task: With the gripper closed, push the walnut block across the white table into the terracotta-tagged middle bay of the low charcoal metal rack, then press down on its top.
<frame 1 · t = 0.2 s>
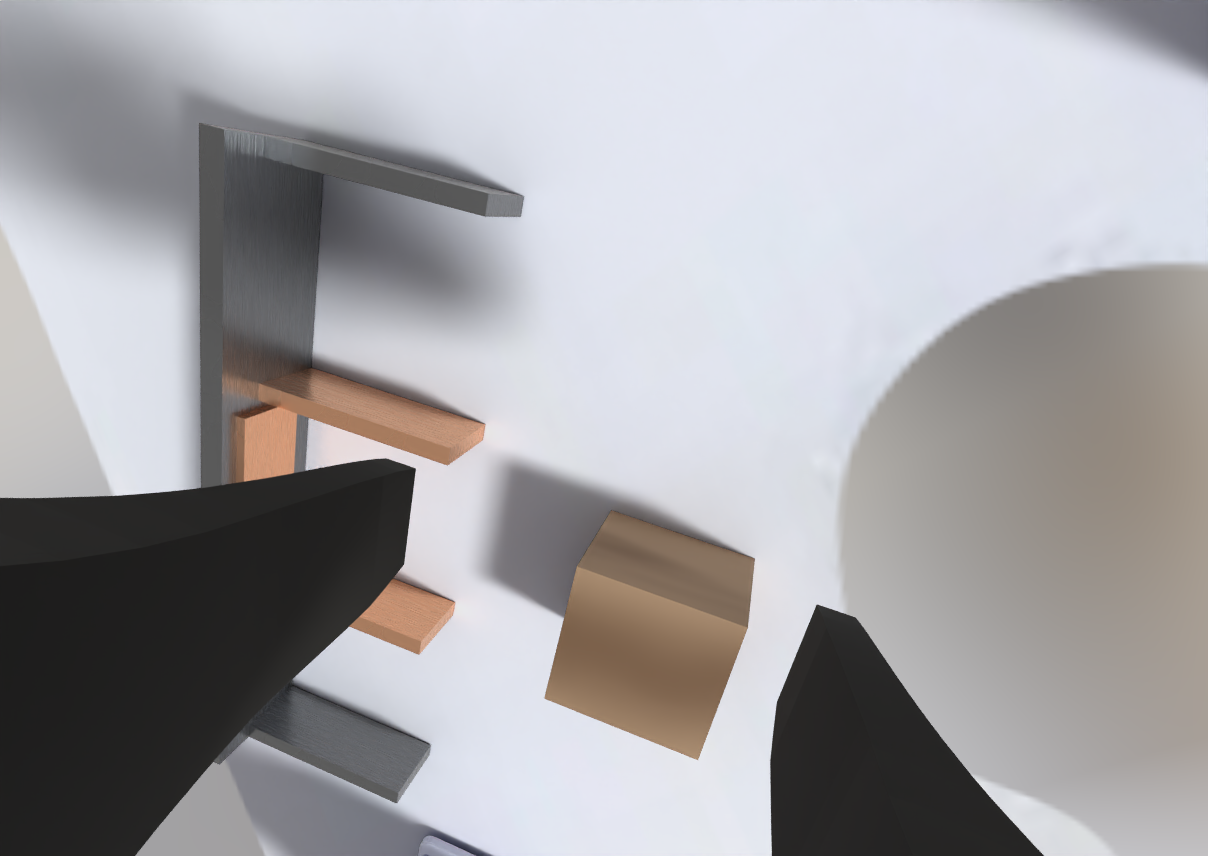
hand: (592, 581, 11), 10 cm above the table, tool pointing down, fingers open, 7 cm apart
rack: (375, 492, 24), on the table
walnut block: (663, 592, 22), on the table
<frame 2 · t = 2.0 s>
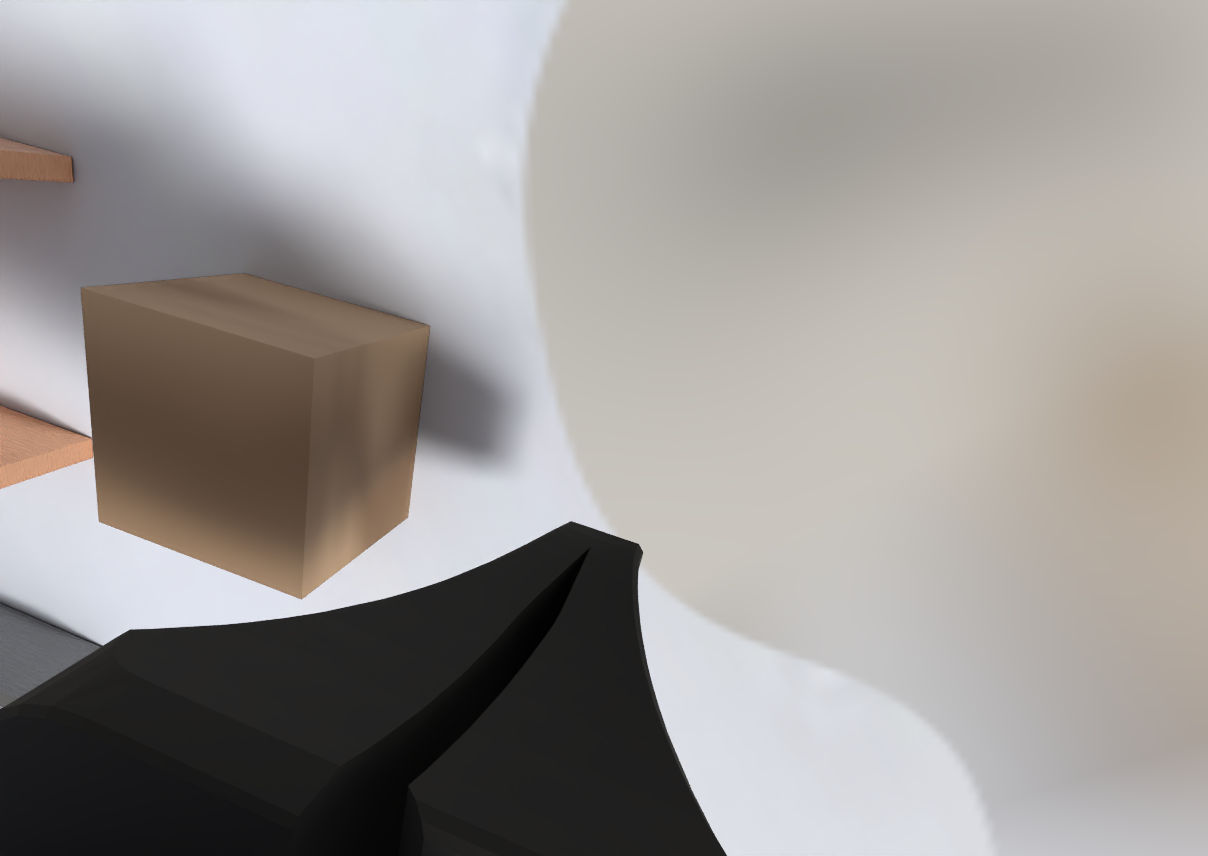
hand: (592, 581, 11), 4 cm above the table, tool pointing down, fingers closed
walnut block: (331, 397, 16), on the table
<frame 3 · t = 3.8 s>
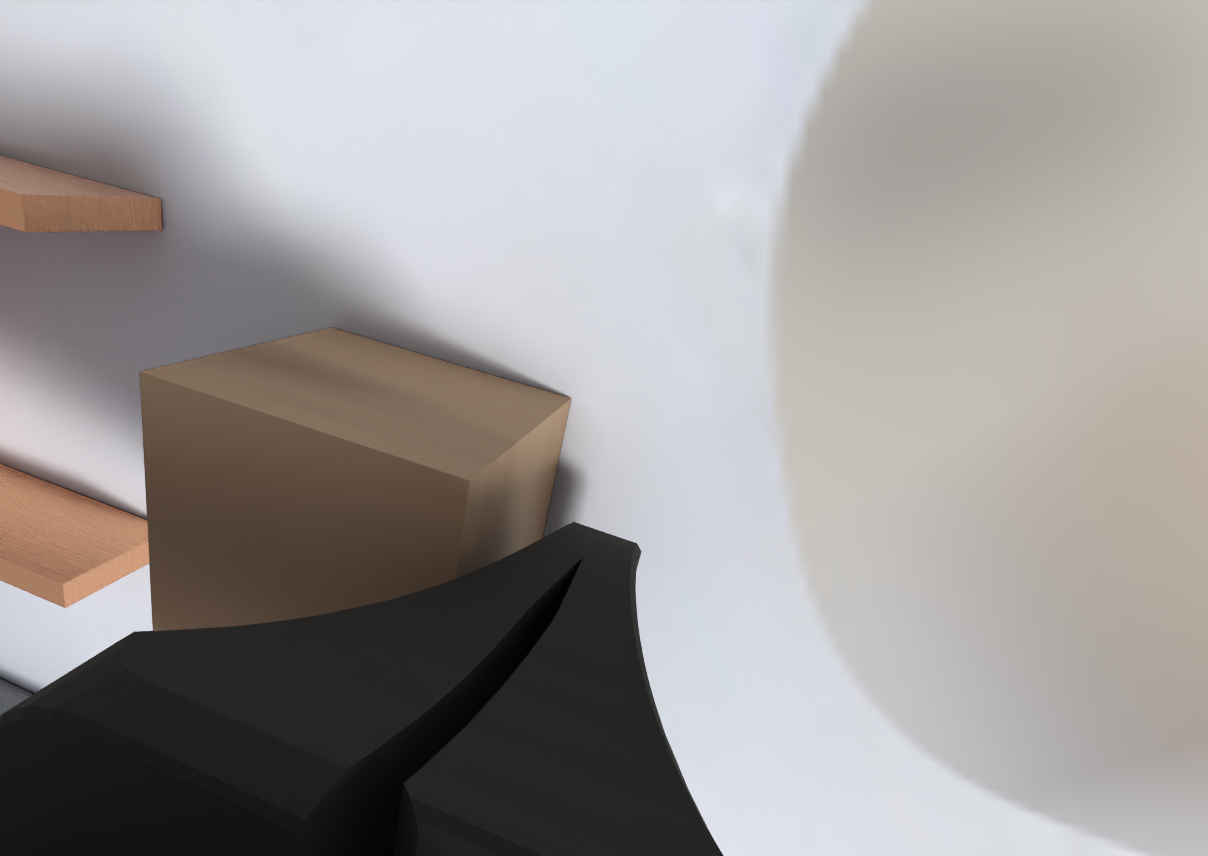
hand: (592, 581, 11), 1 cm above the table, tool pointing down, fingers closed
rack: (28, 346, 15), on the table
walnut block: (431, 479, 13), on the table, touching gripper
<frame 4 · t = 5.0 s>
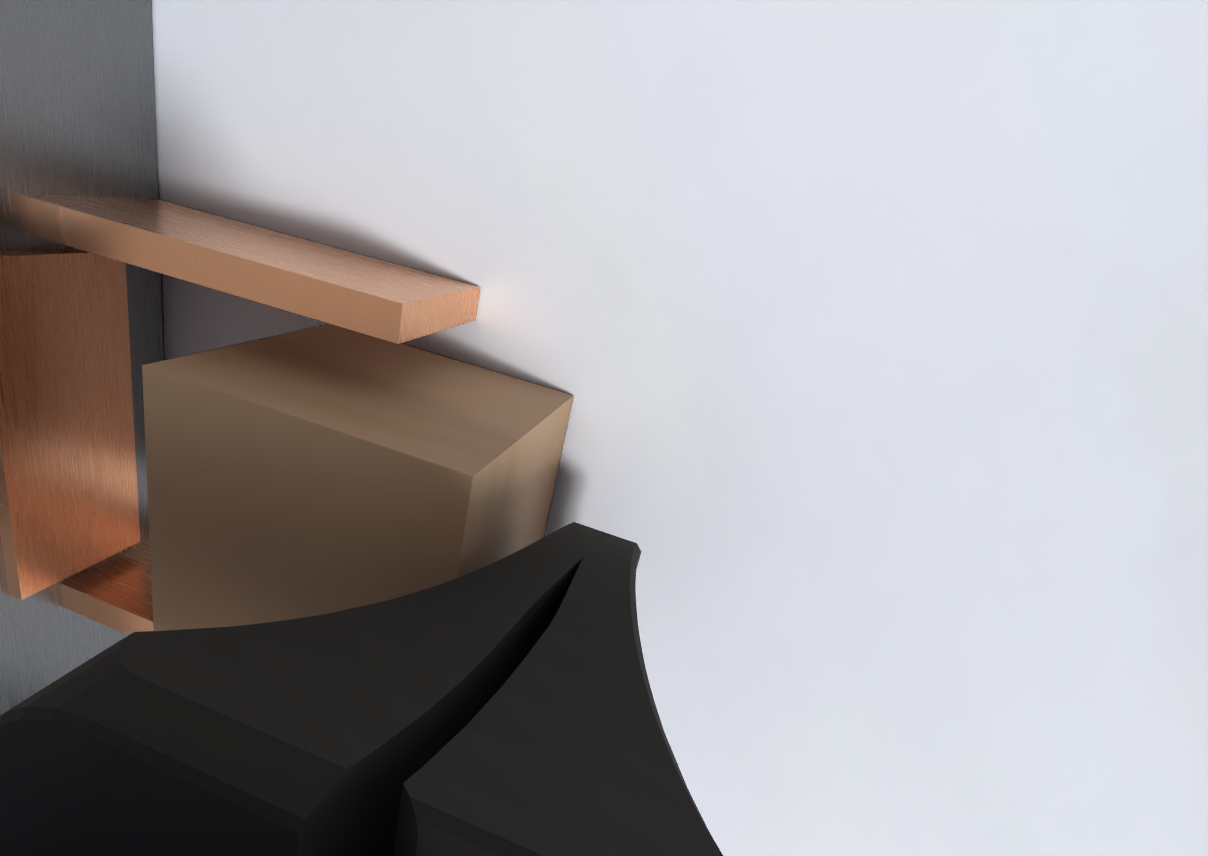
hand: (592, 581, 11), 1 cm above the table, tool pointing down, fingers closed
rack: (285, 433, 14), on the table
walnut block: (433, 476, 13), on the table, touching gripper
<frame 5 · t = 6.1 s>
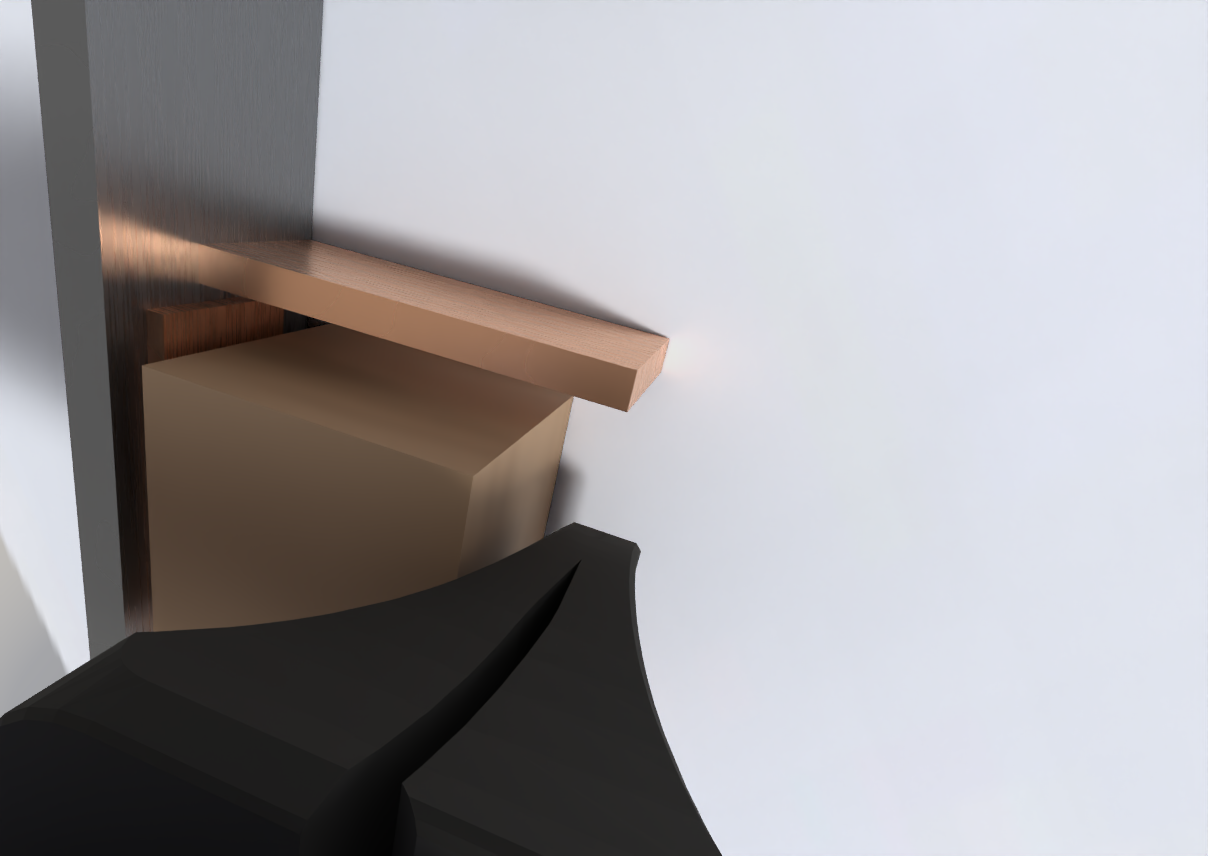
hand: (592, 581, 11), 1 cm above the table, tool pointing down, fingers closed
rack: (432, 482, 13), on the table
walnut block: (433, 476, 13), on the table, touching gripper
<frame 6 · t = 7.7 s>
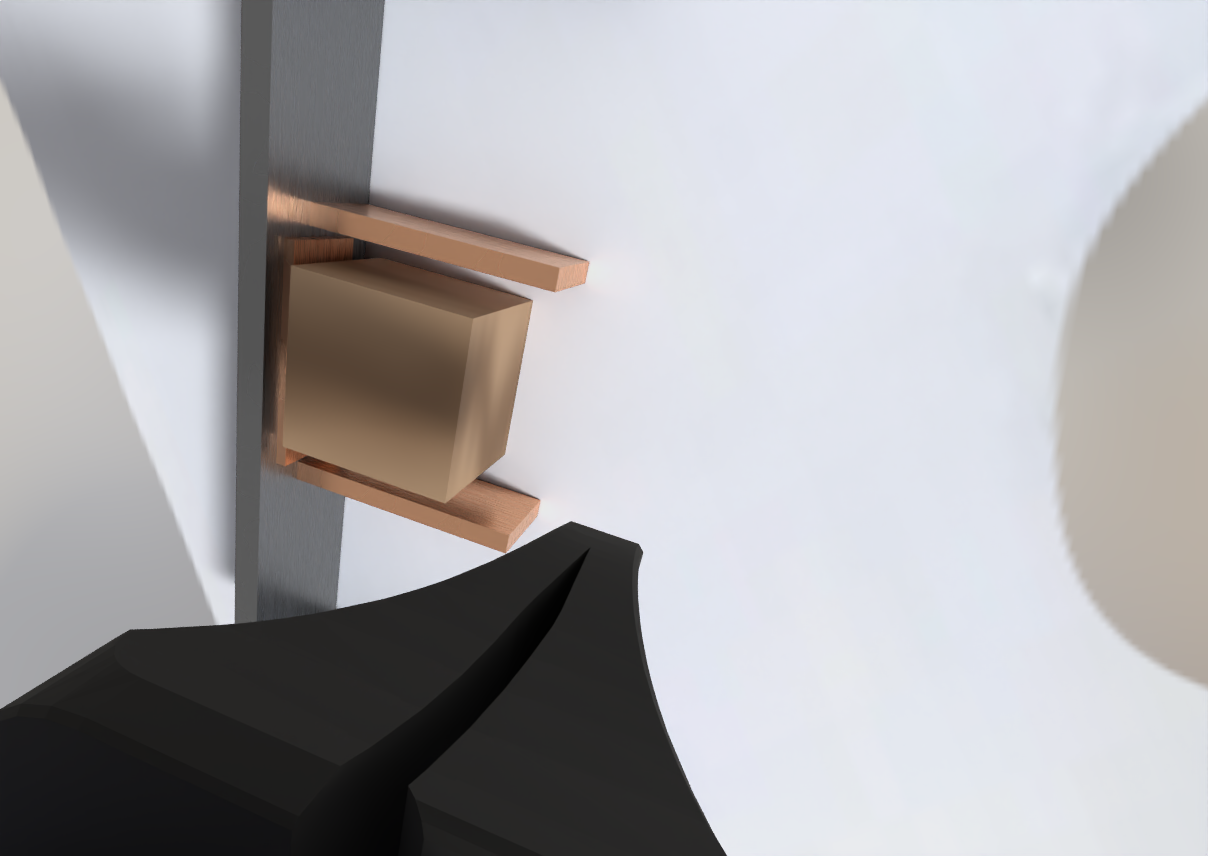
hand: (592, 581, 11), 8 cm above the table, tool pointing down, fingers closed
rack: (444, 363, 20), on the table
walnut block: (446, 357, 20), on the table
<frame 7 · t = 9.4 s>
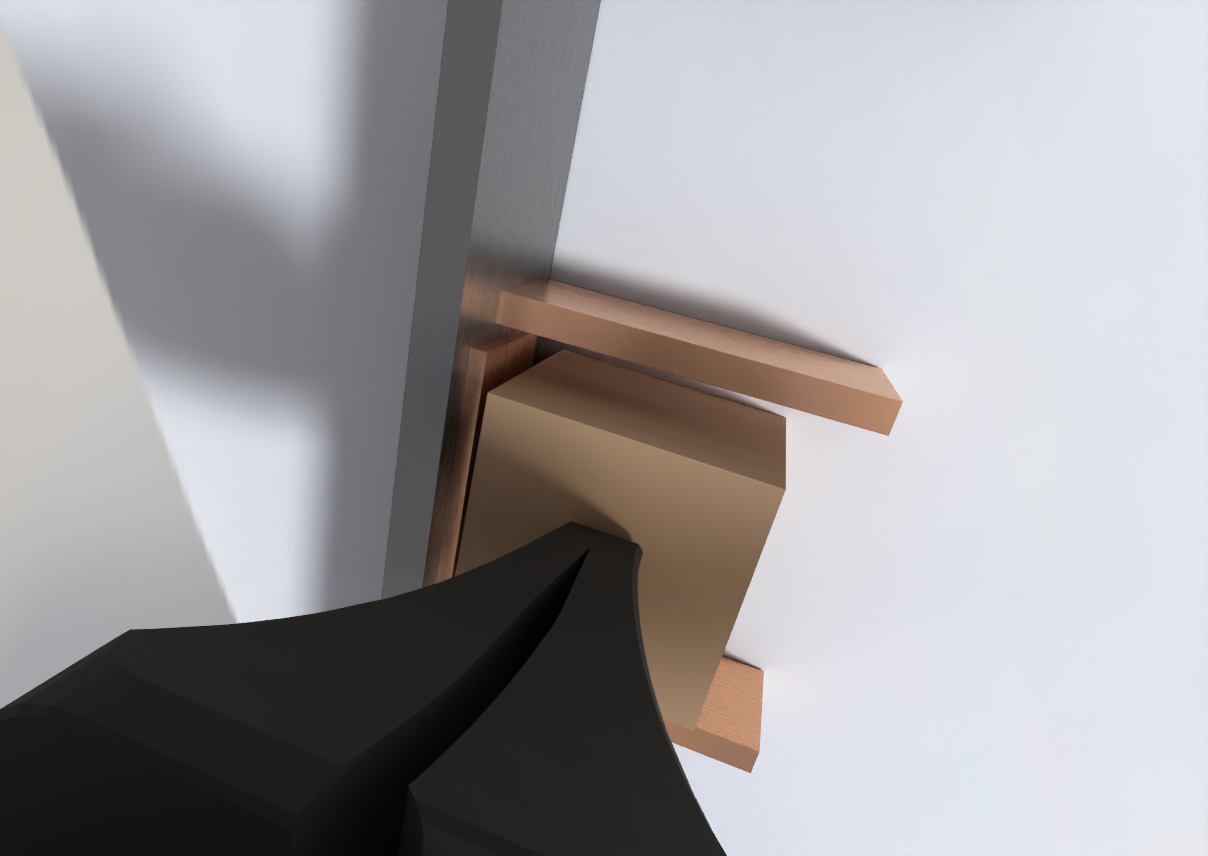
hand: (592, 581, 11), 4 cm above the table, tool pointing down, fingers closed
rack: (641, 491, 15), on the table
walnut block: (642, 482, 15), on the table
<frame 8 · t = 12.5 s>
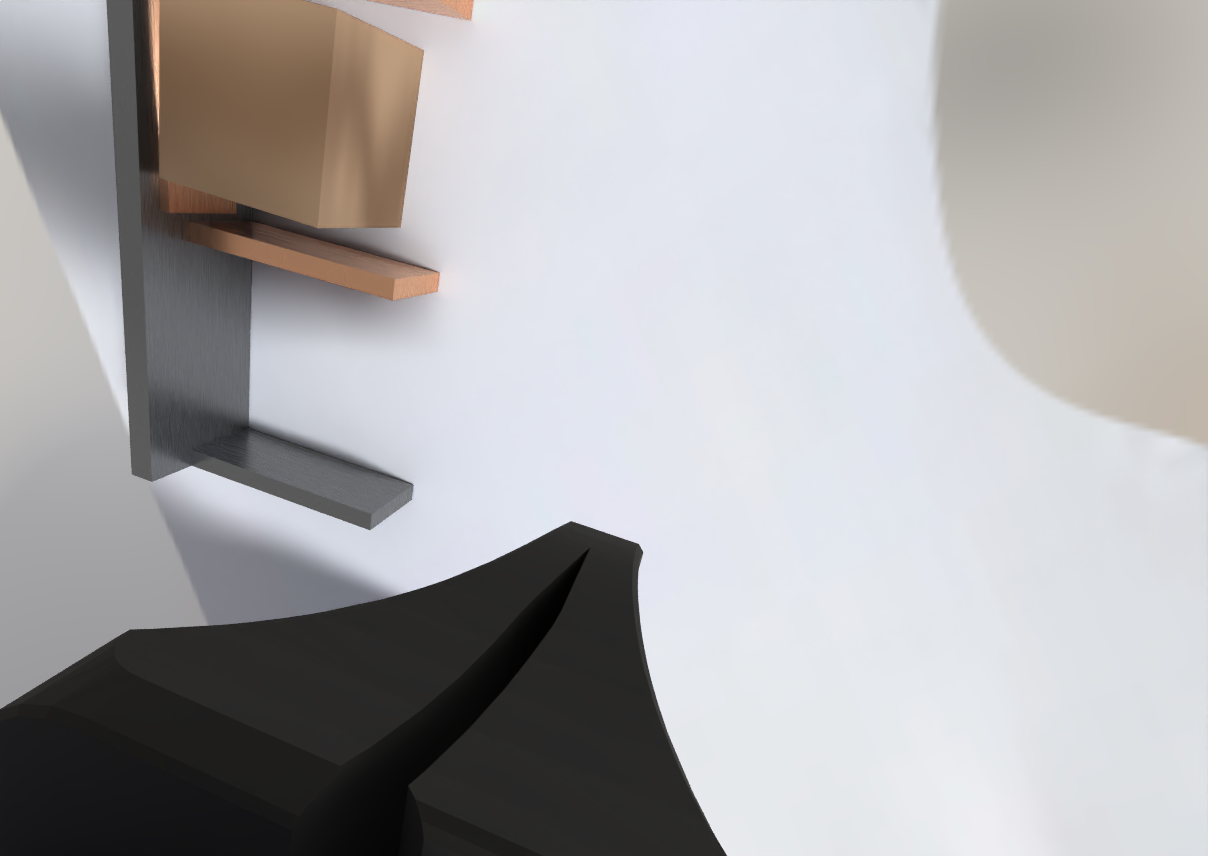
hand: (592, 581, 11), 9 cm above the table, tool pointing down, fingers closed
rack: (339, 127, 20), on the table
walnut block: (342, 123, 20), on the table
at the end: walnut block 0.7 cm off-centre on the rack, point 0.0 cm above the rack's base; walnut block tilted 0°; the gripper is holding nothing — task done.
